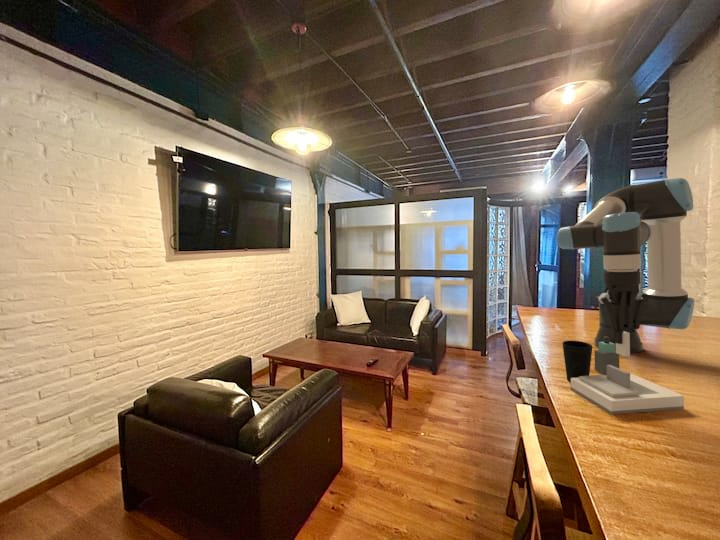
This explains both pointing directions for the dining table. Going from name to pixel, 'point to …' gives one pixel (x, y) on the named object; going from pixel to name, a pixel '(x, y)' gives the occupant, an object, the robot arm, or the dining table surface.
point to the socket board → (631, 397)
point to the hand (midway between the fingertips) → (622, 354)
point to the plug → (605, 356)
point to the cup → (577, 358)
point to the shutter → (612, 382)
